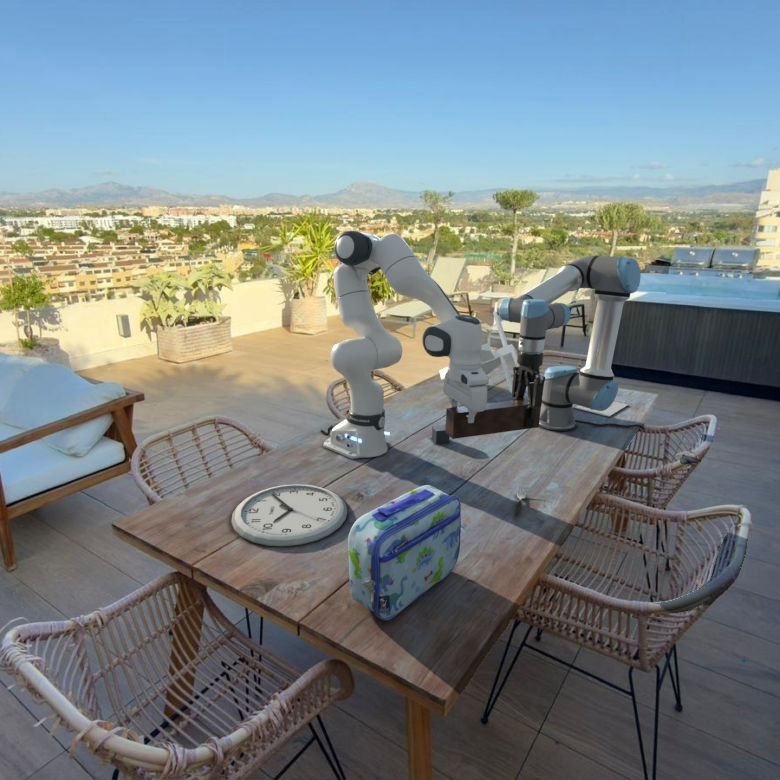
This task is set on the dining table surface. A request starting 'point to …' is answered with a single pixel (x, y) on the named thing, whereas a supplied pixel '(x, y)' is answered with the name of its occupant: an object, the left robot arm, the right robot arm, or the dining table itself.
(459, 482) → the dining table surface
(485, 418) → the plank
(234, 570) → the dining table surface
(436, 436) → the slate block
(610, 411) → the invitation card
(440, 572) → the lunch box
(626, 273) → the right robot arm
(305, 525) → the wall clock
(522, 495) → the fork
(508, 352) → the white plastic object
